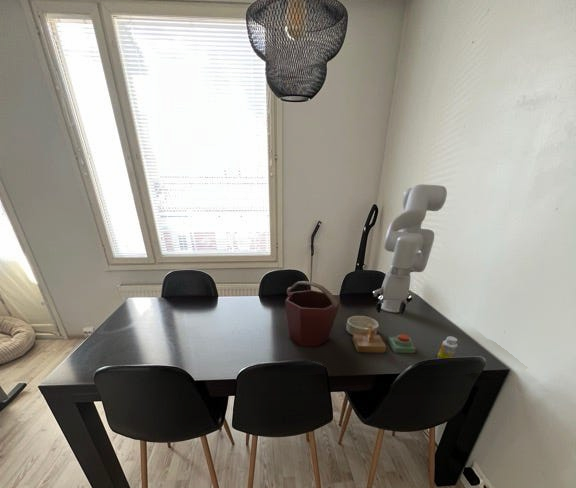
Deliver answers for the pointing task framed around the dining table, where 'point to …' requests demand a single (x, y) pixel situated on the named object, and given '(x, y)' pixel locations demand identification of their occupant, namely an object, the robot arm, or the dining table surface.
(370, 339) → the tap lever
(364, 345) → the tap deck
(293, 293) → the bucket
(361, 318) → the basin
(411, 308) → the dining table surface
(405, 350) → the button block
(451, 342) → the supplement bottle
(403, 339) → the button
